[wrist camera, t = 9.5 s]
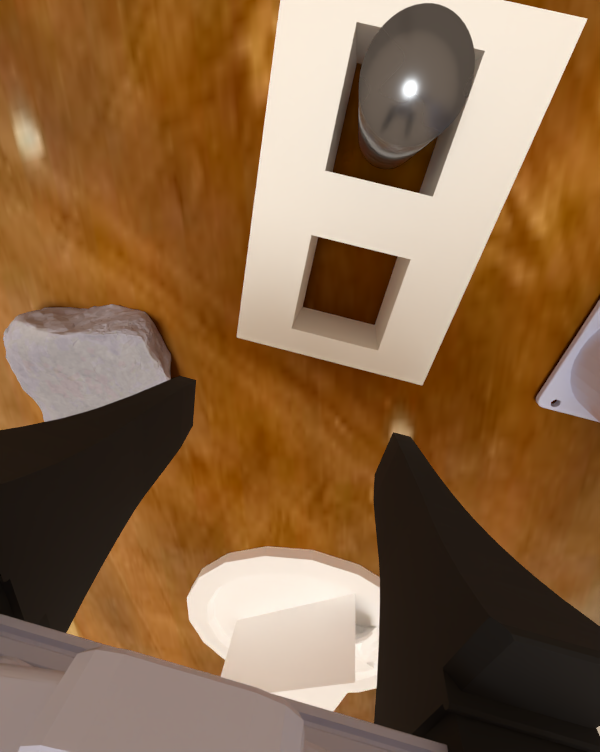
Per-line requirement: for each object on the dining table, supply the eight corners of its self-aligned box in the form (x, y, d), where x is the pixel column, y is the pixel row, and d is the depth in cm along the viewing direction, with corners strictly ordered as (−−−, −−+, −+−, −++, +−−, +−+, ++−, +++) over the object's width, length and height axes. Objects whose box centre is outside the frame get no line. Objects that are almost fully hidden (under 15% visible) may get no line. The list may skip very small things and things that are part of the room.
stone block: (171, 296, 24) (25, 301, 24) (148, 319, 20) (-30, 327, 19) (199, 430, 30) (82, 436, 29) (187, 470, 25) (50, 478, 25)
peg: (433, 102, 16) (497, 20, 8) (407, 176, 17) (443, 159, 10) (370, 84, 16) (381, -13, 9) (350, 159, 17) (344, 130, 10)
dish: (324, 698, 45) (314, 840, 35) (157, 610, 41) (93, 742, 31) (474, 633, 34) (524, 814, 24) (266, 503, 30) (220, 655, 20)
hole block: (531, 63, 14) (587, 18, 11) (411, 354, 21) (422, 385, 18) (303, 11, 15) (286, -48, 11) (256, 314, 21) (236, 337, 18)
